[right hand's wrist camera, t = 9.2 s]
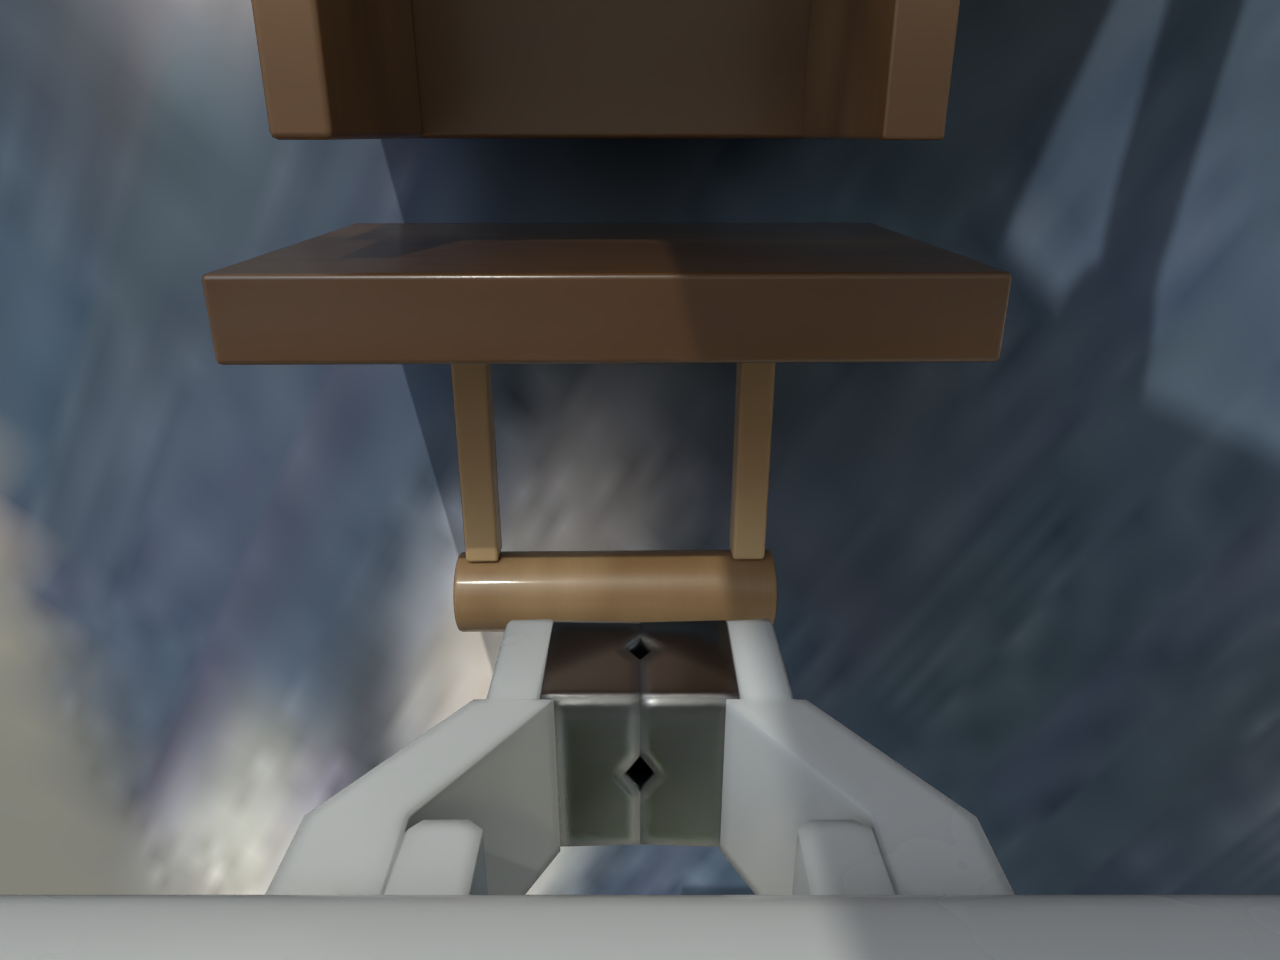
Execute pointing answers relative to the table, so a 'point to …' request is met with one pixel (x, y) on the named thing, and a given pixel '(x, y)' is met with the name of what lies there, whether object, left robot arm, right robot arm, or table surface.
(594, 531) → the table surface
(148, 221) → the table surface
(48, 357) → the table surface
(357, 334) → the drawer
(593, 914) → the right robot arm
